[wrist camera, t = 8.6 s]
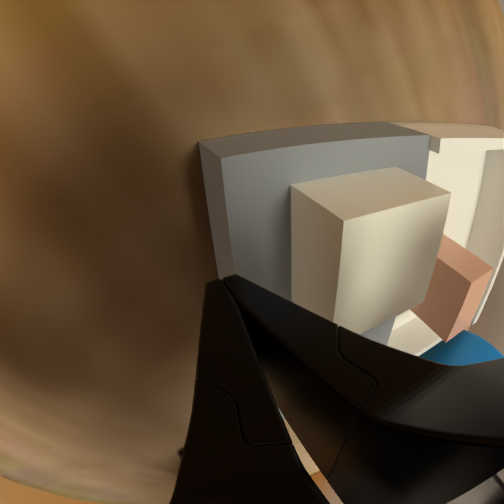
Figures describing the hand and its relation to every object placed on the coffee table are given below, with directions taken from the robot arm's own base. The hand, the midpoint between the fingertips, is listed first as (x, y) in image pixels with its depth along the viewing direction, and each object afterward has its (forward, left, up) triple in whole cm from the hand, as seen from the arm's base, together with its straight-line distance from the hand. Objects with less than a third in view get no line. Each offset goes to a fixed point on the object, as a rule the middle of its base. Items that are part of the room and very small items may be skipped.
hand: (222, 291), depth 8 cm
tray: (-4, -14, -4) cm, 15 cm away
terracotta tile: (-5, -11, -1) cm, 13 cm away
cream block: (0, -5, -1) cm, 5 cm away
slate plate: (-4, -5, -4) cm, 7 cm away
